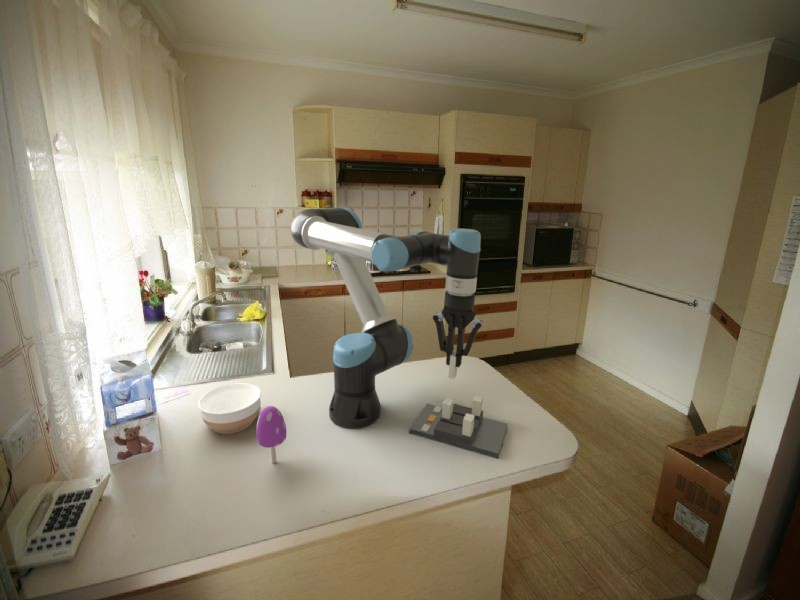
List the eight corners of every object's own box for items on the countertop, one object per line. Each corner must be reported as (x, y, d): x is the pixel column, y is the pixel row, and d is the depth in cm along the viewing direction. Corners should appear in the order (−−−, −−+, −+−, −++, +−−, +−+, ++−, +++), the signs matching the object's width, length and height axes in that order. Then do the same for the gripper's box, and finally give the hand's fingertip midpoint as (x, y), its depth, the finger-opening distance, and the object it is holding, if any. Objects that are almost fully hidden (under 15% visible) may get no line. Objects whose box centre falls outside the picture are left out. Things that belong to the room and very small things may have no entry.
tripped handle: (441, 417, 107) (442, 403, 105) (445, 412, 109) (445, 397, 108) (449, 419, 106) (450, 405, 105) (452, 413, 109) (453, 399, 107)
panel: (409, 433, 106) (409, 427, 105) (426, 407, 118) (427, 402, 118) (498, 458, 97) (498, 452, 96) (507, 428, 109) (507, 422, 108)
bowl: (238, 401, 120) (235, 377, 117) (275, 416, 112) (273, 392, 110) (189, 427, 106) (184, 402, 104) (227, 447, 99) (223, 420, 96)
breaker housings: (433, 435, 103) (434, 413, 101) (449, 408, 115) (450, 388, 113) (470, 446, 99) (472, 423, 97) (482, 417, 111) (484, 396, 109)
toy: (272, 475, 90) (267, 419, 85) (253, 464, 93) (247, 409, 89) (294, 459, 95) (290, 405, 91) (275, 449, 98) (271, 396, 94)
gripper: (430, 291, 96) (424, 376, 103) (483, 300, 91) (473, 388, 98) (439, 284, 103) (433, 365, 110) (489, 292, 98) (479, 375, 105)
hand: (452, 376), depth 104 cm, fingers closed
